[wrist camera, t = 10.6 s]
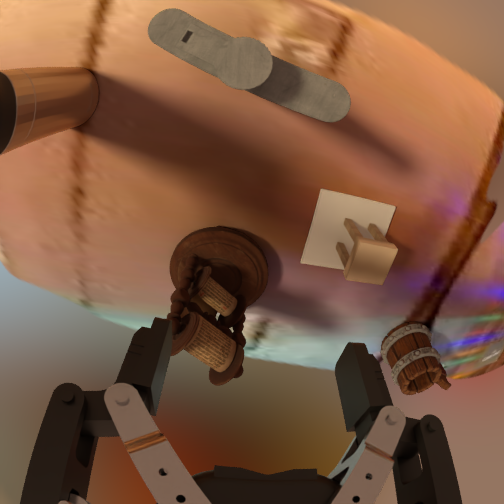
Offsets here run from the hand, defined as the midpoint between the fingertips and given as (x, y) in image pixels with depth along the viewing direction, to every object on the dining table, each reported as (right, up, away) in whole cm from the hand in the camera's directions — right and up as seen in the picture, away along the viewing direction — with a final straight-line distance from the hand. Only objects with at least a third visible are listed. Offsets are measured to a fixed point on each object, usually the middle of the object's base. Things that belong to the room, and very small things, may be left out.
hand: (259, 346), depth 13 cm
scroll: (-5, +2, +34) cm, 34 cm away
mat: (+14, +7, +31) cm, 34 cm away
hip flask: (-1, +26, +20) cm, 33 cm away
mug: (+33, -14, +43) cm, 56 cm away
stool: (+15, +7, +30) cm, 34 cm away
